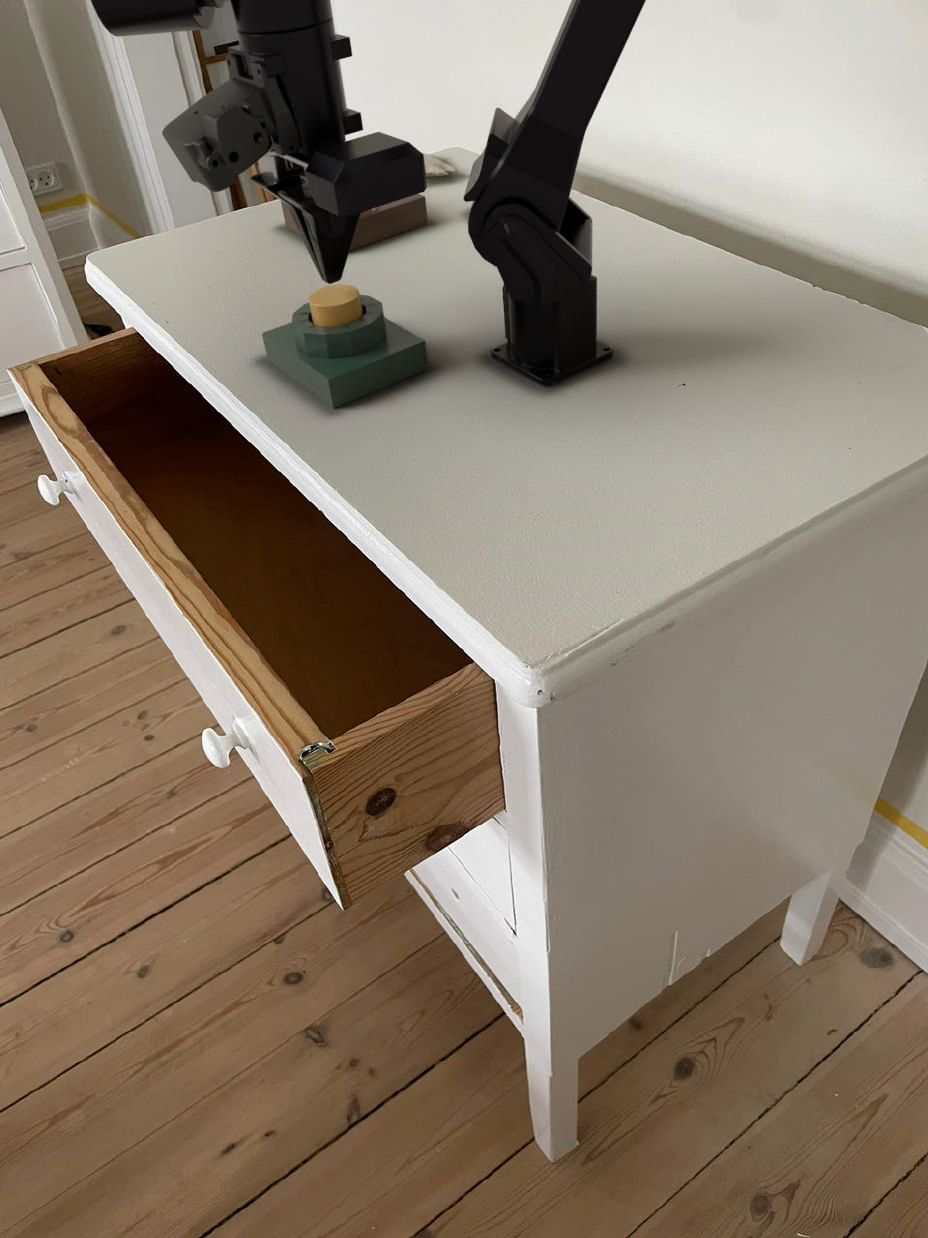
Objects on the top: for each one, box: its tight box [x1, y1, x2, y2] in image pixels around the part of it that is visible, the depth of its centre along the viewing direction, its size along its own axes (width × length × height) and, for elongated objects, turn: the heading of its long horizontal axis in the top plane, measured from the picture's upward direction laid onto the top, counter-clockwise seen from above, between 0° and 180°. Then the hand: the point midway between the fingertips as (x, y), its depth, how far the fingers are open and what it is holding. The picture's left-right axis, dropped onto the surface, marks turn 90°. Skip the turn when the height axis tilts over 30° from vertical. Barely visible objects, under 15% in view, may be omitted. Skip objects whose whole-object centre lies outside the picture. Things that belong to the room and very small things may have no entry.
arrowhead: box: [420, 151, 459, 178], centre depth 103 cm, size 7×2×10 cm
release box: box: [261, 294, 429, 409], centre depth 70 cm, size 10×8×4 cm
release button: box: [308, 284, 363, 327], centre depth 69 cm, size 4×4×2 cm
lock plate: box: [280, 193, 429, 252], centre depth 92 cm, size 10×10×3 cm
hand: (332, 280), depth 67 cm, fingers closed
